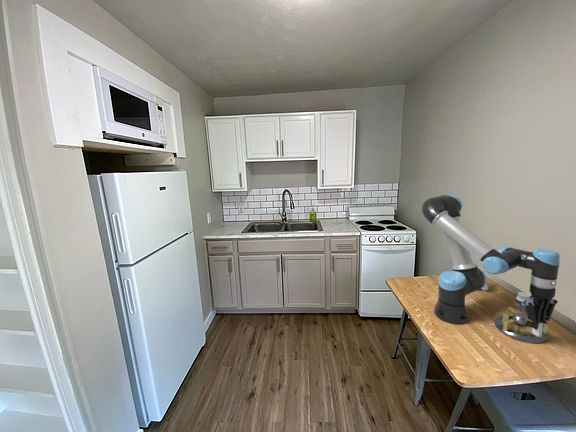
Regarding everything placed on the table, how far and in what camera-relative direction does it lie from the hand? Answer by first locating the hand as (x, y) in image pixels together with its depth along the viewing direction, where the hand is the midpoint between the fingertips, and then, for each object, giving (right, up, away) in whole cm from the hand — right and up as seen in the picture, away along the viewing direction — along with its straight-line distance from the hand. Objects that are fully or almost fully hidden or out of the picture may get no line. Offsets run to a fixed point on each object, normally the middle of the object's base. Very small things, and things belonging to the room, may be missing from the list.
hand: (536, 334), depth 106 cm
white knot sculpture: (+8, +7, +46) cm, 47 cm away
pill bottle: (+14, +2, +20) cm, 25 cm away
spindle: (0, -2, +8) cm, 8 cm away
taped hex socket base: (+1, 0, +7) cm, 6 cm away
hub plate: (0, -2, +8) cm, 8 cm away
